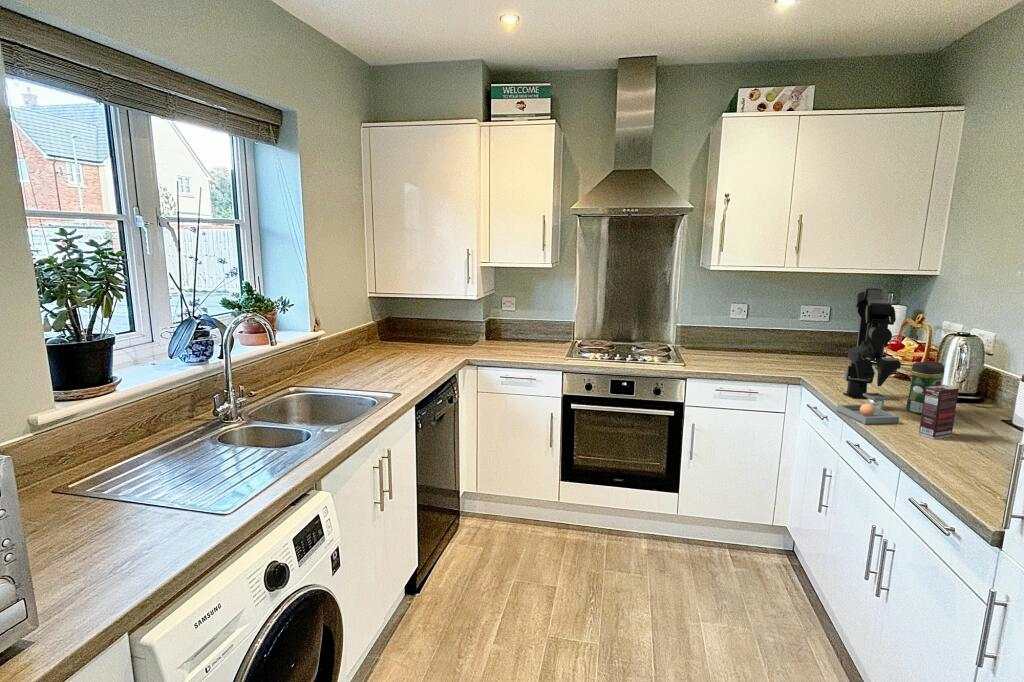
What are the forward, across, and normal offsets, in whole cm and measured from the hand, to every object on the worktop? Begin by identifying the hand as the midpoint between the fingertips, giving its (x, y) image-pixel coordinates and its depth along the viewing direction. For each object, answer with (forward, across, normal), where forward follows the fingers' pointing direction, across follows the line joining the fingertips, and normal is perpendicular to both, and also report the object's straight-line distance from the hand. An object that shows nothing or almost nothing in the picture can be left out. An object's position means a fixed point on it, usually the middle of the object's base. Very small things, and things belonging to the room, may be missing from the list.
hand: (869, 382), depth 190 cm
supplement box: (+11, +22, +6) cm, 26 cm away
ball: (+11, +4, -2) cm, 12 cm away
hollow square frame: (+12, -6, +8) cm, 16 cm away
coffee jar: (+12, -1, +22) cm, 25 cm away
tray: (+12, +4, -3) cm, 12 cm away
